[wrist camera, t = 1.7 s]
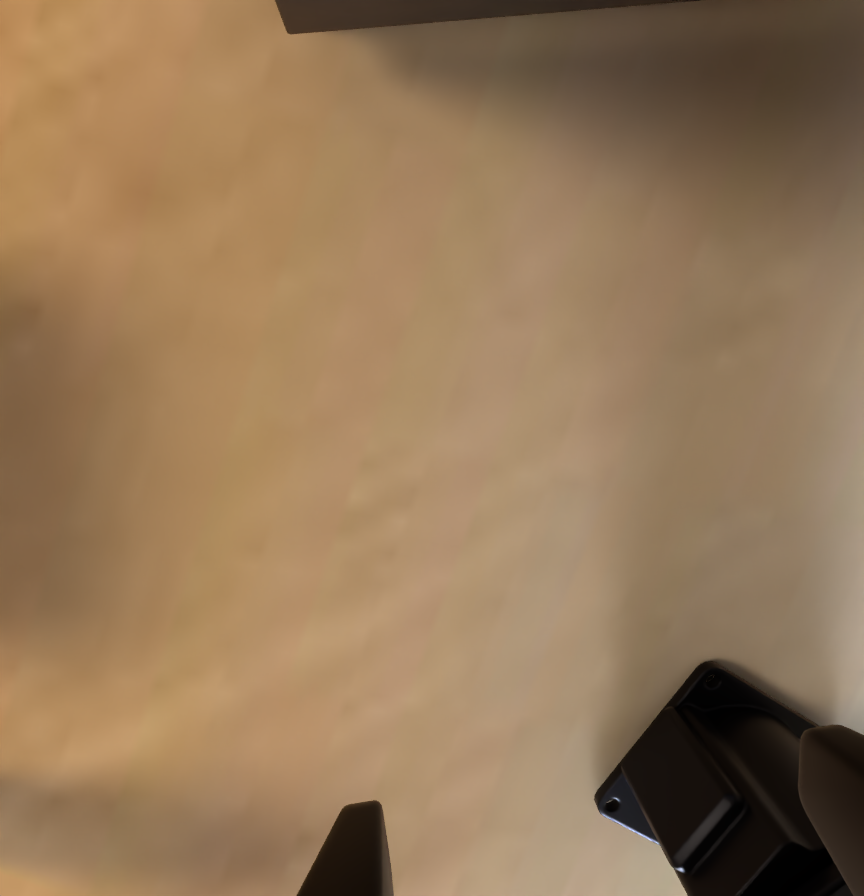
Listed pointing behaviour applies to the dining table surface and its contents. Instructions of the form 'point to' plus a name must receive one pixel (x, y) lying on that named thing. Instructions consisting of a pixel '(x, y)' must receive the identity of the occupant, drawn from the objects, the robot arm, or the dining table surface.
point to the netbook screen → (422, 11)
